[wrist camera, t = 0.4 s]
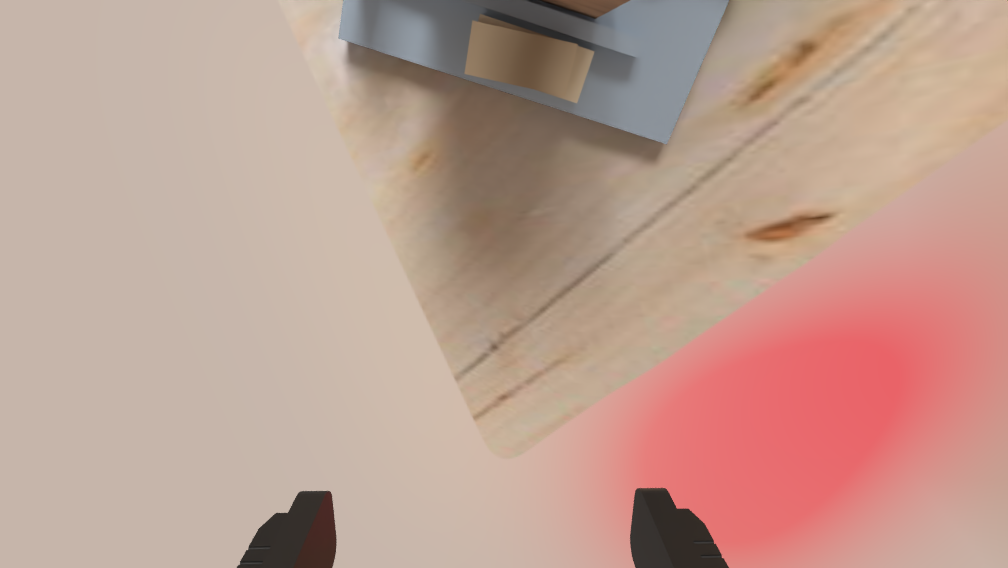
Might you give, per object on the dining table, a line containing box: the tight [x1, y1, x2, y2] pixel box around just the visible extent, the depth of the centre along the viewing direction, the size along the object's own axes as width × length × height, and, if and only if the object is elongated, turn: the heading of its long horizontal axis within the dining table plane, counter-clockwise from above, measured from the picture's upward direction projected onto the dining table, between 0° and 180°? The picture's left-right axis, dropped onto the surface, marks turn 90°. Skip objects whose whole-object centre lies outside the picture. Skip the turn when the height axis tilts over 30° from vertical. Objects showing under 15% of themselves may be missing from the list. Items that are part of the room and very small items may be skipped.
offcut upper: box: [464, 20, 578, 96], centre depth 29 cm, size 6×3×2 cm, turn 79°
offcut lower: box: [478, 14, 595, 103], centre depth 31 cm, size 7×3×2 cm, turn 74°
